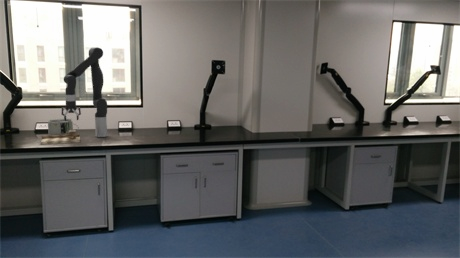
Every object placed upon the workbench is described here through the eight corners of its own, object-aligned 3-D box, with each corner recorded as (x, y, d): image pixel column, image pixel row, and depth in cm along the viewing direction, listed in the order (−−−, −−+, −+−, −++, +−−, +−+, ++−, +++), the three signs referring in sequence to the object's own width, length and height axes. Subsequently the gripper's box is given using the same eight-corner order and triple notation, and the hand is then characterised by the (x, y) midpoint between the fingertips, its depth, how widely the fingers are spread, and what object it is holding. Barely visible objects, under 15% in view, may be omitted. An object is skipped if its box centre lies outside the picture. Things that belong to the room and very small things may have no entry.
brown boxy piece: (75, 137, 301) (75, 129, 300) (76, 139, 291) (75, 132, 290) (69, 137, 299) (68, 130, 298) (69, 139, 289) (68, 132, 288)
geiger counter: (48, 119, 309) (78, 117, 324) (46, 118, 314) (77, 116, 329) (49, 135, 312) (79, 133, 327) (47, 134, 317) (77, 131, 332)
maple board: (79, 138, 304) (79, 134, 303) (80, 142, 291) (79, 137, 291) (42, 140, 293) (41, 135, 292) (41, 144, 280) (40, 139, 280)
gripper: (80, 99, 297) (80, 119, 300) (61, 99, 291) (61, 119, 294) (80, 100, 290) (81, 120, 293) (60, 100, 285) (61, 121, 288)
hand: (71, 120), depth 294 cm, fingers open, 8 cm apart
